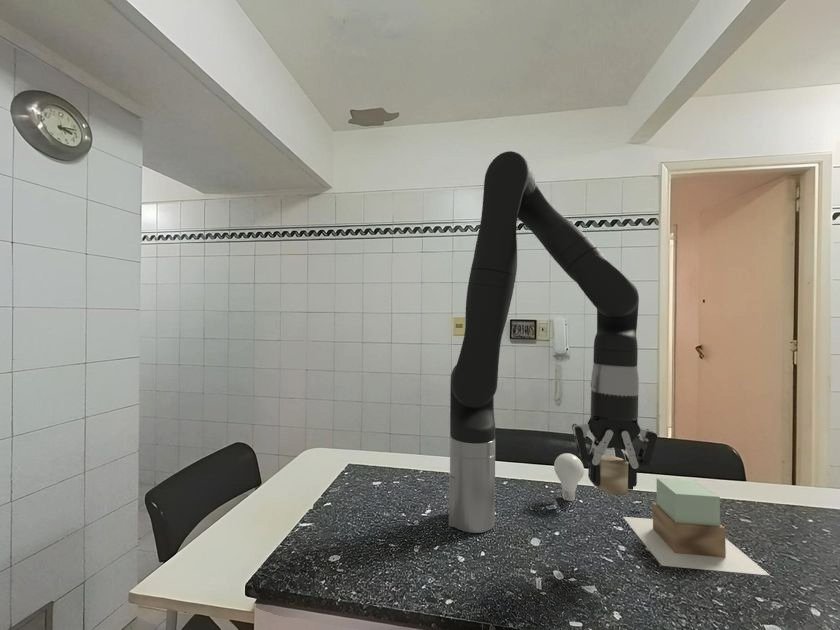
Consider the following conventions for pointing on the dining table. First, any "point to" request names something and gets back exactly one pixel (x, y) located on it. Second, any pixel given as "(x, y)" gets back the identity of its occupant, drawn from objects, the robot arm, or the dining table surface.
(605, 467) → the birch cylinder
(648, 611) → the dining table surface
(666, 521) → the walnut block
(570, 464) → the lightbulb
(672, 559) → the base board
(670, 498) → the sage block
